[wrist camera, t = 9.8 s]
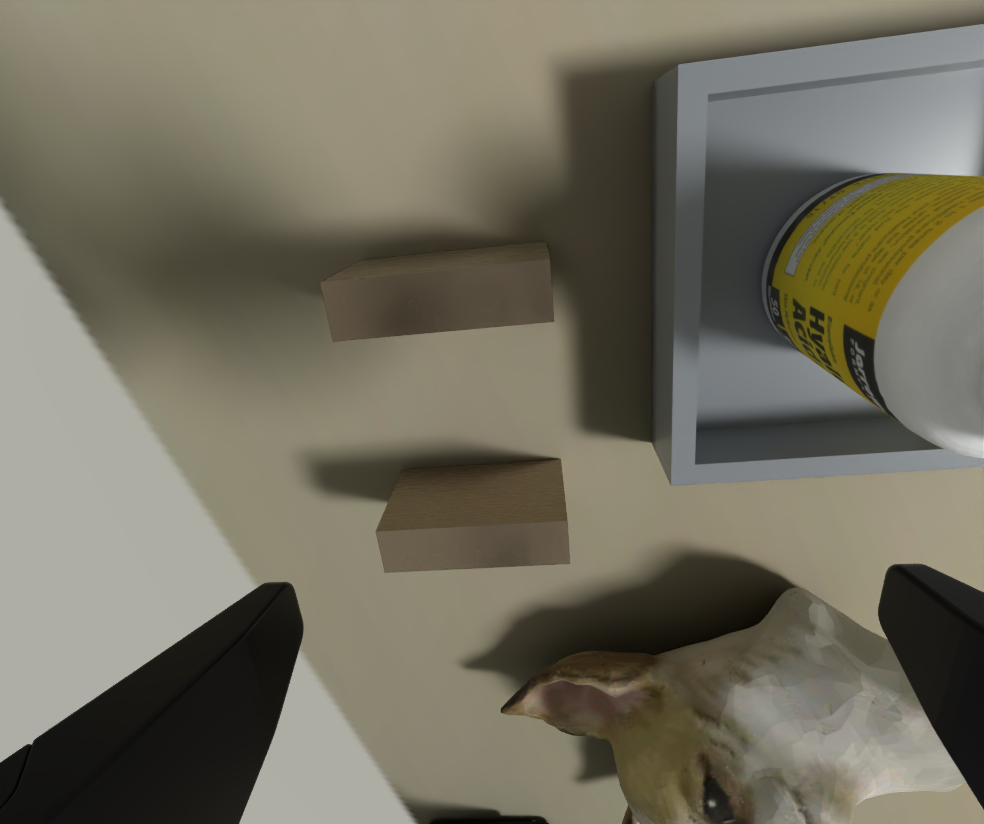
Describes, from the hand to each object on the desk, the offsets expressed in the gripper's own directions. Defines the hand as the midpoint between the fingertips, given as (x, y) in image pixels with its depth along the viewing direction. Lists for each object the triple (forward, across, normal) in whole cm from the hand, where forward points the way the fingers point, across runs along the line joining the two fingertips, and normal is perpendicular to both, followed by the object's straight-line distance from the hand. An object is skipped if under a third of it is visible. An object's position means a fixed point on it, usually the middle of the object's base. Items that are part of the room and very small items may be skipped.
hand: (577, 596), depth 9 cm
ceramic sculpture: (+12, -6, +14) cm, 20 cm away
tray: (+12, -9, -3) cm, 15 cm away
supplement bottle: (+11, -9, -3) cm, 15 cm away
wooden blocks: (+12, +3, +1) cm, 12 cm away
